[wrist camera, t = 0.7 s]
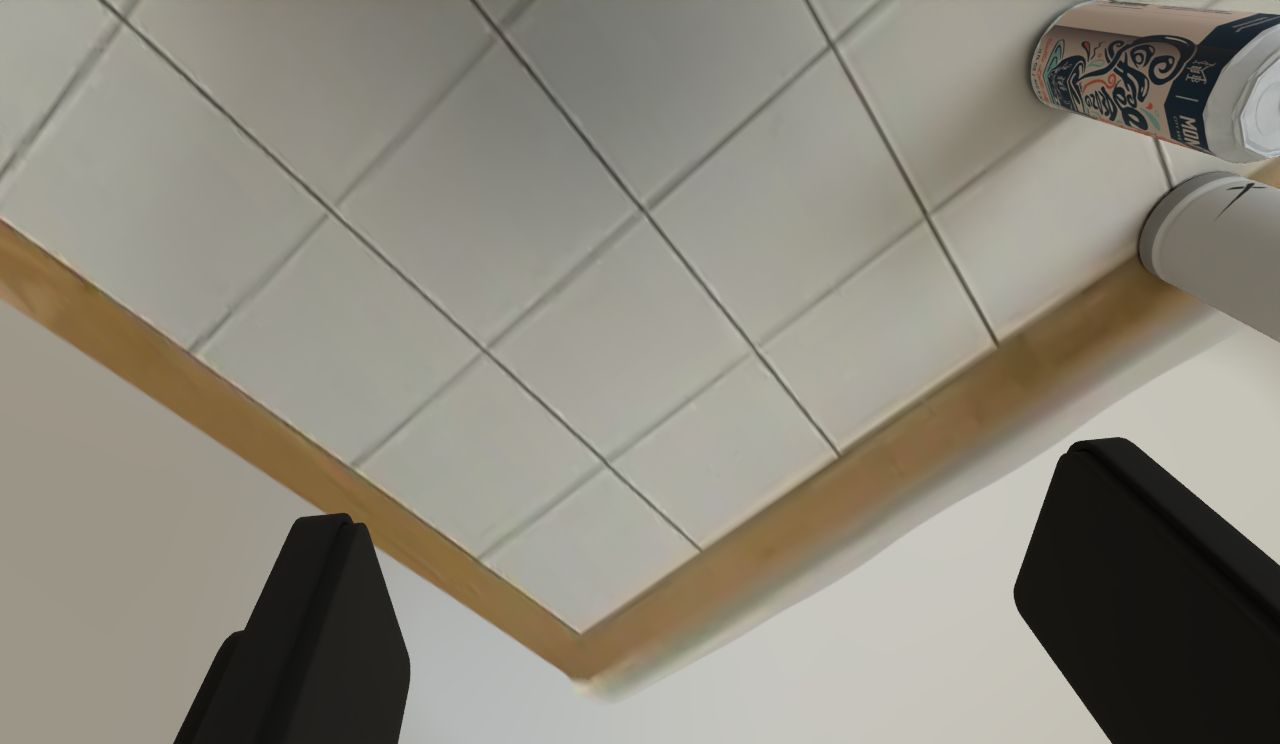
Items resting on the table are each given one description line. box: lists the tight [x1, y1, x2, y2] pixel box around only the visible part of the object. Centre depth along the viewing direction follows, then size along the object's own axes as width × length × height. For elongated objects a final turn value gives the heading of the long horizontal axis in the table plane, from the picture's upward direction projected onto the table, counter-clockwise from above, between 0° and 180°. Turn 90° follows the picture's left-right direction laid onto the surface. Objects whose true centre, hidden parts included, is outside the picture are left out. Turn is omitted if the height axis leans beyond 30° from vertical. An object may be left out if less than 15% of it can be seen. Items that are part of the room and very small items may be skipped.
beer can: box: [1031, 0, 1280, 163], centre depth 28 cm, size 5×5×12 cm
